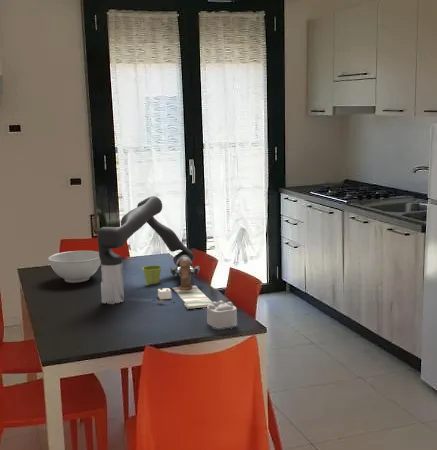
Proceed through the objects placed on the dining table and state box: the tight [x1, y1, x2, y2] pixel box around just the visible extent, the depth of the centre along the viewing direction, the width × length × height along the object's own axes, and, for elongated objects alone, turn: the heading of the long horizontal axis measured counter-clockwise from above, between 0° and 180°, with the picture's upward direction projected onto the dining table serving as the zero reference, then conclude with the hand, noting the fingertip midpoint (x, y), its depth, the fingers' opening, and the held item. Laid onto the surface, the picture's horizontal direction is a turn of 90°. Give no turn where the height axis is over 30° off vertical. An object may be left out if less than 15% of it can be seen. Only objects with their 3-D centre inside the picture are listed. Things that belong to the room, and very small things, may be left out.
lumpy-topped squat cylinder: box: [206, 299, 238, 328], centre depth 251 cm, size 10×13×9 cm
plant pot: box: [141, 265, 162, 286], centre depth 312 cm, size 9×9×9 cm
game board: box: [172, 285, 213, 309], centre depth 288 cm, size 32×12×2 cm, turn 16°
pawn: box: [178, 259, 193, 290], centre depth 298 cm, size 6×6×14 cm
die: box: [157, 287, 172, 303], centre depth 286 cm, size 5×5×6 cm
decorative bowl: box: [47, 250, 101, 284], centre depth 326 cm, size 27×27×12 cm
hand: (185, 274), depth 295 cm, fingers open, 5 cm apart
